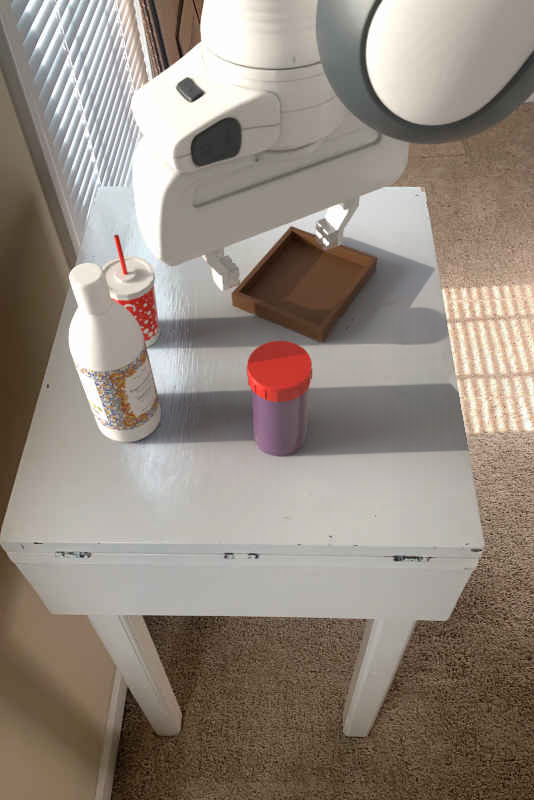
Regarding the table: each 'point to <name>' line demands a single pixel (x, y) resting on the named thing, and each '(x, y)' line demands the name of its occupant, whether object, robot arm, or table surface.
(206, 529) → the table surface
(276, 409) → the jar
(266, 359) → the lid
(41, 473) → the table surface
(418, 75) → the robot arm
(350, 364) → the table surface
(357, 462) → the table surface
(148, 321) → the beverage cup
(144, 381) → the bath foam
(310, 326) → the tray
